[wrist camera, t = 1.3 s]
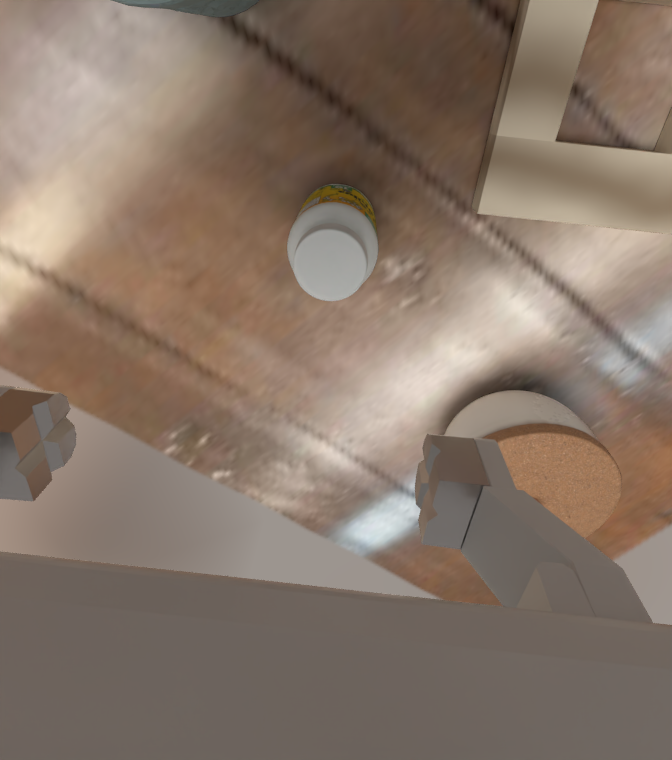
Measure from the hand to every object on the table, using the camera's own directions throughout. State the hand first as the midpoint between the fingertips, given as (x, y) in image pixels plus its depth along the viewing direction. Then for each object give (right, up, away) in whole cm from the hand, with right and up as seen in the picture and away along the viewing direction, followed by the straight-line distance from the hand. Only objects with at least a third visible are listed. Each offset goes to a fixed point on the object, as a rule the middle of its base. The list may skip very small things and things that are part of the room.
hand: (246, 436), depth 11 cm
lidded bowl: (+17, -3, +31) cm, 35 cm away
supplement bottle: (+2, +13, +22) cm, 26 cm away
